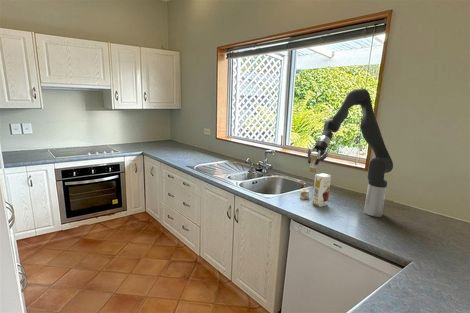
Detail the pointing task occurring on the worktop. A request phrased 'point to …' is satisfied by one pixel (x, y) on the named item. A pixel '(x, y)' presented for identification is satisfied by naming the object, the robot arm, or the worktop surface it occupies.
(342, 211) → the worktop surface
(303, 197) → the beech block
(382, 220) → the worktop surface
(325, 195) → the juice carton
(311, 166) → the sprinkles bottle
